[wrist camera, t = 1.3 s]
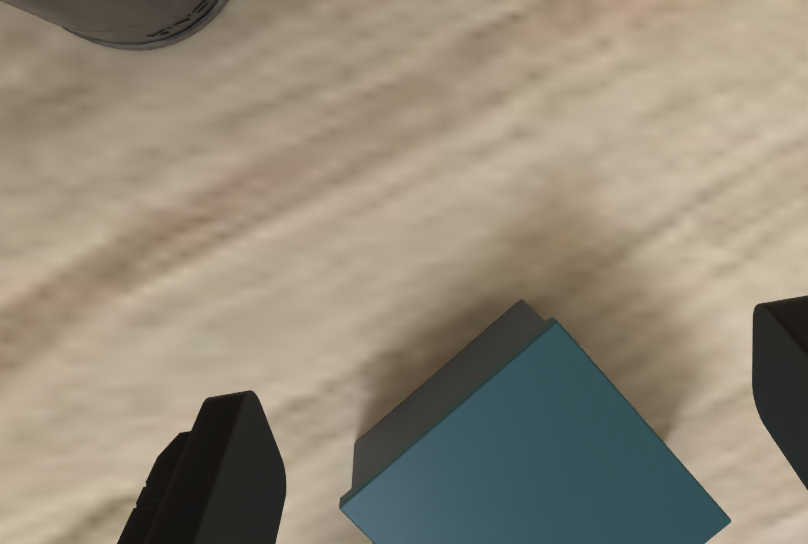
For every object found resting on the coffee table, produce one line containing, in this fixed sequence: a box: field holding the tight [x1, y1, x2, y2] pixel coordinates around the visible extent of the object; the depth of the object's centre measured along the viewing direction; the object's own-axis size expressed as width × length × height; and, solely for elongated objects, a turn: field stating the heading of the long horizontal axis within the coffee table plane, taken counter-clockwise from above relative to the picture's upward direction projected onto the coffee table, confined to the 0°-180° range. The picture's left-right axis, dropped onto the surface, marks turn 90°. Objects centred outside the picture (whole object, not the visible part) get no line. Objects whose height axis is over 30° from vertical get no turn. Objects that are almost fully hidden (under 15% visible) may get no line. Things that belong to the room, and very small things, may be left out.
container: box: [339, 299, 731, 544], centre depth 29 cm, size 11×11×6 cm
